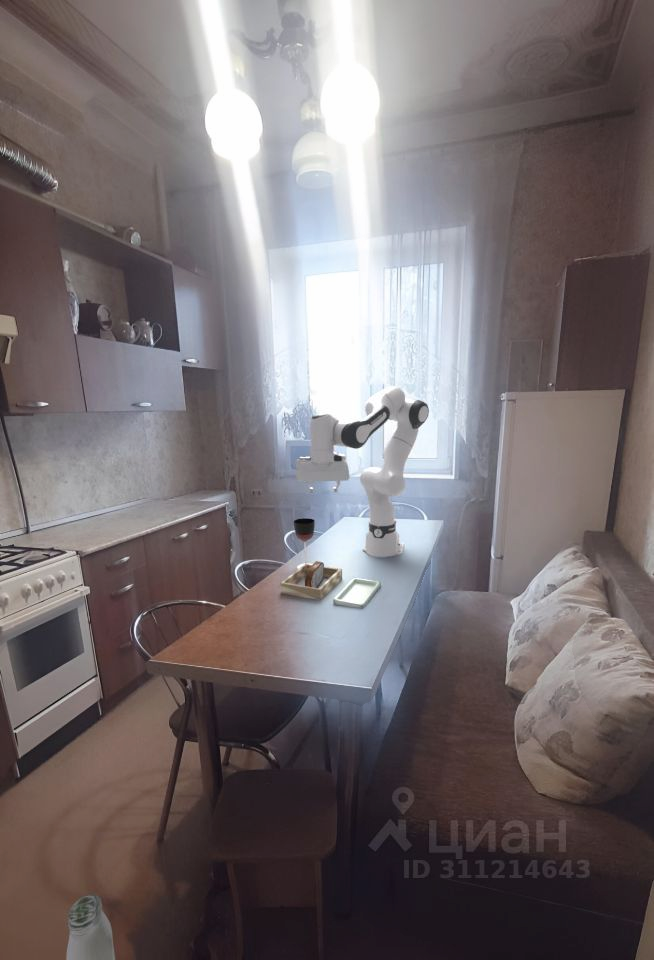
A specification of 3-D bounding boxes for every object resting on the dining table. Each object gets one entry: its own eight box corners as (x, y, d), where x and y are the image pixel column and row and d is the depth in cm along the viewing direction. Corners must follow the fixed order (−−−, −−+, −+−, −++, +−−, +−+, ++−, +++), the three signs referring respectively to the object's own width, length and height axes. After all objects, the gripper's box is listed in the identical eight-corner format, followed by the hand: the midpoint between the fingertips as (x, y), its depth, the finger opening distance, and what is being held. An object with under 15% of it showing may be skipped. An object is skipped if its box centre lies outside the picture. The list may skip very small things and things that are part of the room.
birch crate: (305, 573, 177) (305, 563, 176) (342, 578, 170) (342, 569, 170) (280, 593, 159) (280, 583, 158) (320, 600, 152) (320, 589, 152)
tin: (318, 577, 172) (317, 557, 171) (325, 578, 171) (325, 558, 170) (304, 594, 158) (303, 572, 157) (312, 595, 157) (311, 573, 156)
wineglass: (313, 571, 179) (312, 524, 175) (293, 569, 180) (291, 523, 177) (318, 563, 186) (316, 518, 183) (298, 562, 188) (296, 518, 184)
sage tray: (353, 583, 166) (353, 577, 166) (380, 587, 162) (380, 581, 161) (333, 605, 148) (333, 599, 148) (362, 611, 144) (362, 604, 144)
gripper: (293, 458, 161) (295, 494, 164) (349, 457, 161) (349, 493, 163) (295, 456, 168) (297, 491, 170) (348, 454, 167) (349, 490, 170)
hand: (323, 492), depth 167 cm, fingers open, 8 cm apart
